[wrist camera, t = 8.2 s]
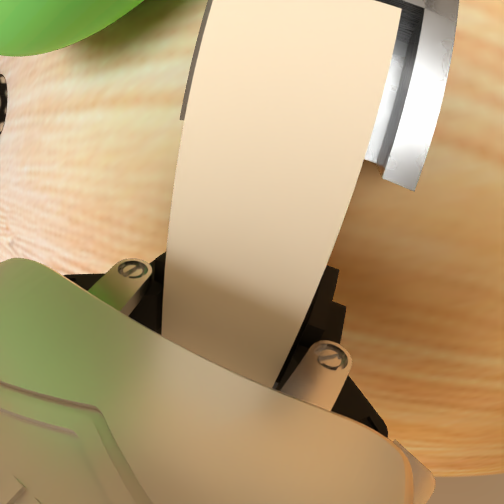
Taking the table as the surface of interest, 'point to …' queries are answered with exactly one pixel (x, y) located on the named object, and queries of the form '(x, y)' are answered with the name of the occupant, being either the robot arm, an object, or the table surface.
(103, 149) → the table surface
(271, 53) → the rail
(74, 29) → the toy bird
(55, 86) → the table surface
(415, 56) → the bracket
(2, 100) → the white-spotted black cylinder
